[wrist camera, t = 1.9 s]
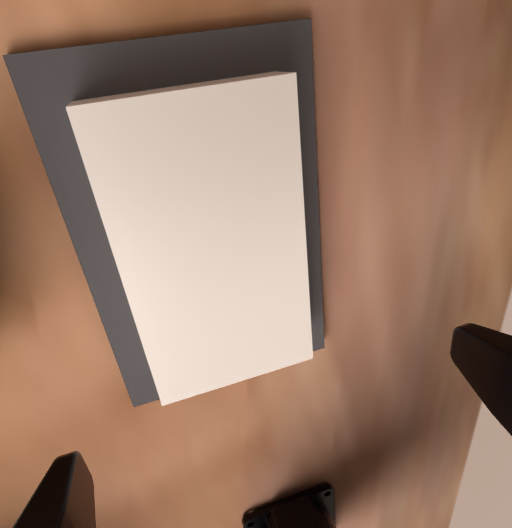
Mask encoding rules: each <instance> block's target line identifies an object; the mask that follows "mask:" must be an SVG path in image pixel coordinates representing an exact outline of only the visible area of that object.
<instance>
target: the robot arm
mask: <svg viewBox="0 0 512 528" xmlns="http://www.w3.org/2000/svg"><path fill="white" fill-rule="evenodd" d="M450 355H451V358H452V360H453V362H454V364H455V365H456V366H457V368H458V369H459V370H460V372H461V373H462V374H463V376H464V377H465V378H466V380H467V381H468V382H469V384H470V385H471V386H472V388H473V389H474V391H475V392H476V393H477V395H478V396H479V397H480V399H481V400H482V401H483V403H484V404H485V405H486V406H487V408H488V409H489V410H490V412H491V413H492V414H493V415H494V416H495V418H496V419H497V420H498V421H499V422H500V423H501V425H502V426H503V427H504V428H505V429H506V430H507V431H508V432H509V433H510V435H511V436H512V336H511V335H508V334H504V333H502V332H498V331H495V330H492V329H489V328H486V327H482V326H479V325H476V324H472V323H468V324H465V325H461V326H458V327H456V328H455V329H454V331H453V337H452V343H451V350H450ZM242 524H243V528H336V526H335V497H334V489H333V487H332V485H331V484H324V485H321V486H319V487H316V488H314V489H311V490H309V491H306V492H304V493H301V494H298V495H296V496H293V497H291V498H288V499H286V500H283V501H280V502H278V503H275V504H273V505H270V506H268V507H265V508H263V509H260V510H257V511H255V512H252V513H250V514H247V515H246V516H244V517H243V519H242ZM13 528H96V520H95V501H94V485H93V479H92V476H91V474H90V472H89V470H88V468H87V466H86V464H85V462H84V460H83V458H82V456H81V454H80V453H79V452H78V451H74V452H71V453H68V454H65V455H62V456H59V457H57V458H56V459H55V460H54V462H53V463H52V465H51V466H50V468H49V470H48V471H47V473H46V474H45V476H44V478H43V479H42V481H41V483H40V484H39V486H38V487H37V489H36V491H35V492H34V494H33V496H32V497H31V499H30V500H29V502H28V504H27V505H26V507H25V509H24V510H23V512H22V513H21V515H20V517H19V518H18V520H17V522H16V523H15V525H14V526H13Z"/></svg>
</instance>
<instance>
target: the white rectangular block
mask: <svg viewBox="0 0 512 528" xmlns="http://www.w3.org/2000/svg"><path fill="white" fill-rule="evenodd" d="M66 110H67V113H68V116H69V120H70V123H71V126H72V129H73V132H74V135H75V138H76V141H77V144H78V147H79V150H80V154H81V157H82V160H83V163H84V166H85V169H86V172H87V175H88V178H89V181H90V184H91V188H92V191H93V194H94V197H95V200H96V203H97V206H98V209H99V212H100V215H101V219H102V222H103V225H104V228H105V231H106V234H107V237H108V240H109V243H110V246H111V249H112V253H113V256H114V259H115V262H116V265H117V268H118V271H119V274H120V277H121V280H122V283H123V287H124V290H125V293H126V296H127V299H128V302H129V305H130V308H131V311H132V314H133V318H134V321H135V324H136V327H137V330H138V333H139V336H140V339H141V342H142V345H143V348H144V352H145V355H146V358H147V361H148V364H149V367H150V370H151V373H152V376H153V379H154V382H155V386H156V389H157V392H158V395H159V398H160V401H161V404H162V406H164V405H167V404H170V403H173V402H176V401H180V400H183V399H186V398H189V397H192V396H195V395H199V394H202V393H205V392H208V391H211V390H214V389H218V388H221V387H224V386H227V385H230V384H233V383H237V382H240V381H243V380H246V379H249V378H252V377H256V376H259V375H262V374H265V373H268V372H271V371H275V370H278V369H281V368H284V367H287V366H290V365H294V364H297V363H300V362H303V361H306V360H309V359H313V346H312V330H311V313H310V296H309V279H308V262H307V245H306V228H305V211H304V194H303V177H302V160H301V143H300V126H299V109H298V92H297V75H296V72H277V71H274V72H267V73H261V74H254V75H247V76H240V77H233V78H227V79H220V80H213V81H206V82H199V83H192V84H186V85H179V86H172V87H165V88H158V89H152V90H145V91H138V92H131V93H124V94H118V95H111V96H104V97H97V98H90V99H84V100H77V101H72V102H71V103H69V104H68V105H67V106H66Z"/></svg>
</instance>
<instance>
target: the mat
mask: <svg viewBox="0 0 512 528" xmlns="http://www.w3.org/2000/svg"><path fill="white" fill-rule="evenodd" d="M3 57H4V60H5V63H6V66H7V68H8V71H9V74H10V76H11V79H12V82H13V84H14V87H15V90H16V92H17V95H18V98H19V100H20V103H21V106H22V108H23V111H24V114H25V117H26V119H27V122H28V125H29V127H30V130H31V133H32V135H33V138H34V141H35V143H36V146H37V149H38V151H39V154H40V157H41V159H42V162H43V165H44V168H45V170H46V173H47V176H48V178H49V181H50V184H51V186H52V189H53V192H54V194H55V197H56V200H57V202H58V205H59V208H60V210H61V213H62V216H63V219H64V221H65V224H66V227H67V229H68V232H69V235H70V237H71V240H72V243H73V245H74V248H75V251H76V253H77V256H78V259H79V261H80V264H81V267H82V269H83V272H84V275H85V278H86V280H87V283H88V286H89V288H90V291H91V294H92V296H93V299H94V302H95V304H96V307H97V310H98V312H99V315H100V318H101V320H102V323H103V326H104V329H105V331H106V334H107V337H108V339H109V342H110V345H111V347H112V350H113V353H114V355H115V358H116V361H117V363H118V366H119V369H120V371H121V374H122V377H123V380H124V382H125V385H126V388H127V390H128V393H129V396H130V398H131V401H132V404H133V406H134V407H136V406H139V405H142V404H146V403H149V402H152V401H155V400H158V399H160V398H159V395H158V392H157V389H156V386H155V382H154V379H153V376H152V373H151V370H150V367H149V364H148V361H147V358H146V355H145V352H144V348H143V345H142V342H141V339H140V336H139V333H138V330H137V327H136V324H135V321H134V318H133V314H132V311H131V308H130V305H129V302H128V299H127V296H126V293H125V290H124V287H123V283H122V280H121V277H120V274H119V271H118V268H117V265H116V262H115V259H114V256H113V253H112V249H111V246H110V243H109V240H108V237H107V234H106V231H105V228H104V225H103V222H102V219H101V215H100V212H99V209H98V206H97V203H96V200H95V197H94V194H93V191H92V188H91V184H90V181H89V178H88V175H87V172H86V169H85V166H84V163H83V160H82V157H81V154H80V150H79V147H78V144H77V141H76V138H75V135H74V132H73V129H72V126H71V123H70V120H69V116H68V113H67V110H66V106H67V105H68V104H69V103H71V102H72V101H77V100H84V99H90V98H97V97H104V96H111V95H118V94H124V93H131V92H138V91H145V90H152V89H158V88H165V87H172V86H179V85H186V84H192V83H199V82H206V81H213V80H220V79H227V78H233V77H240V76H247V75H254V74H261V73H267V72H274V71H277V72H296V75H297V92H298V109H299V126H300V143H301V160H302V177H303V194H304V211H305V228H306V245H307V262H308V279H309V296H310V313H311V330H312V346H313V351H316V350H319V349H322V348H325V347H324V322H323V298H322V273H321V248H320V223H319V198H318V174H317V149H316V124H315V99H314V75H313V50H312V25H311V18H310V19H302V20H293V21H285V22H276V23H268V24H260V25H251V26H243V27H235V28H226V29H218V30H209V31H201V32H193V33H184V34H176V35H167V36H159V37H151V38H142V39H134V40H126V41H117V42H109V43H100V44H92V45H84V46H75V47H67V48H59V49H50V50H42V51H33V52H25V53H17V54H8V55H3Z"/></svg>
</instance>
